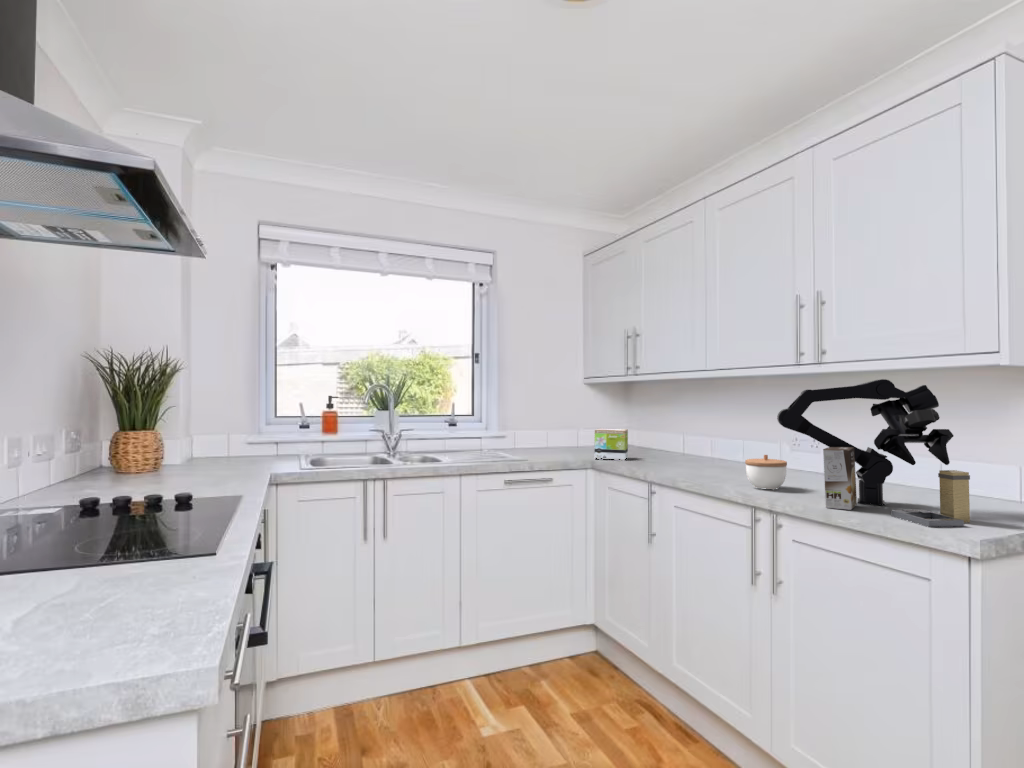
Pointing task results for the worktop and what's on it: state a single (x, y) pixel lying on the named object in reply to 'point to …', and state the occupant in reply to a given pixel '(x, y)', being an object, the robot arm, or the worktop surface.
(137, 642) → the worktop surface
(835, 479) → the coffee box
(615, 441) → the tea box
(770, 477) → the lidded bowl
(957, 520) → the rail plate
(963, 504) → the post
